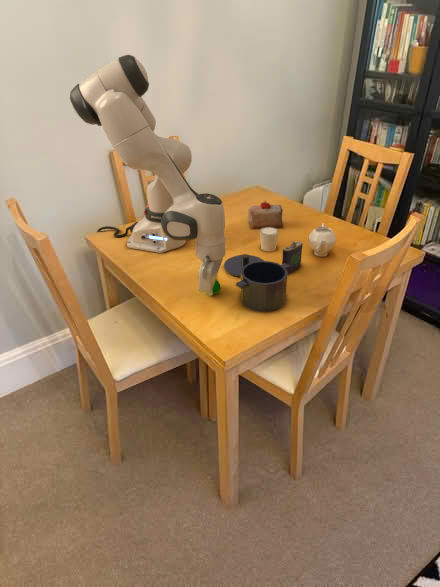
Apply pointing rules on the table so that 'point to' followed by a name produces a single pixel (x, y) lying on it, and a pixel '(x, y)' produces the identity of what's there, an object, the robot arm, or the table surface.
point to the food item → (265, 215)
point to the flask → (293, 256)
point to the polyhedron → (216, 287)
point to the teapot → (322, 240)
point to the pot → (263, 285)
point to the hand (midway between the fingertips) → (212, 288)
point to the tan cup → (268, 238)
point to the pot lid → (239, 263)
